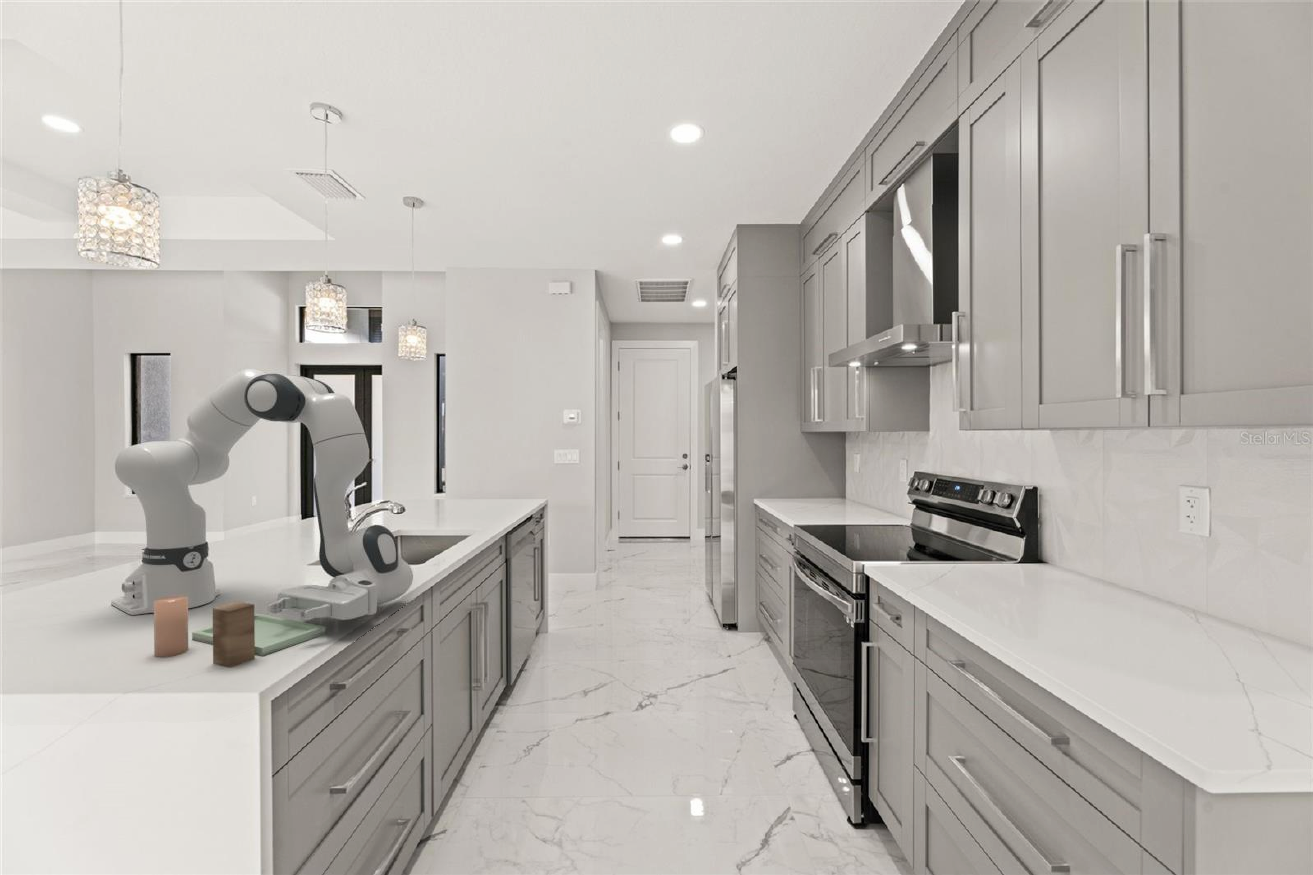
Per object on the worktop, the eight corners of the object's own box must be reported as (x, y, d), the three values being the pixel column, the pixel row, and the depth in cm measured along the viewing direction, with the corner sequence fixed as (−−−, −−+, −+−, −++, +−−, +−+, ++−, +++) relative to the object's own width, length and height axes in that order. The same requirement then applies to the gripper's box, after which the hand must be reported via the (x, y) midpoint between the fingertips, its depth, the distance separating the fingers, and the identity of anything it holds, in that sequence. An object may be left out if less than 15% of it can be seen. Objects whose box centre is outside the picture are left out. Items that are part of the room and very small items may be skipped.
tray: (192, 639, 120) (192, 632, 120) (257, 620, 132) (257, 613, 132) (262, 656, 112) (262, 648, 112) (325, 633, 124) (325, 626, 124)
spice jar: (148, 654, 112) (147, 601, 112) (178, 645, 117) (177, 594, 117) (164, 658, 110) (163, 604, 110) (194, 649, 115) (193, 597, 115)
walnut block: (213, 663, 109) (212, 608, 108) (238, 654, 113) (238, 601, 112) (229, 667, 107) (228, 611, 107) (254, 658, 111) (254, 604, 111)
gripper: (314, 574, 136) (252, 590, 123) (381, 585, 128) (323, 602, 115) (314, 602, 136) (252, 621, 123) (381, 614, 128) (323, 635, 115)
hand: (286, 612), depth 119 cm, fingers open, 8 cm apart
